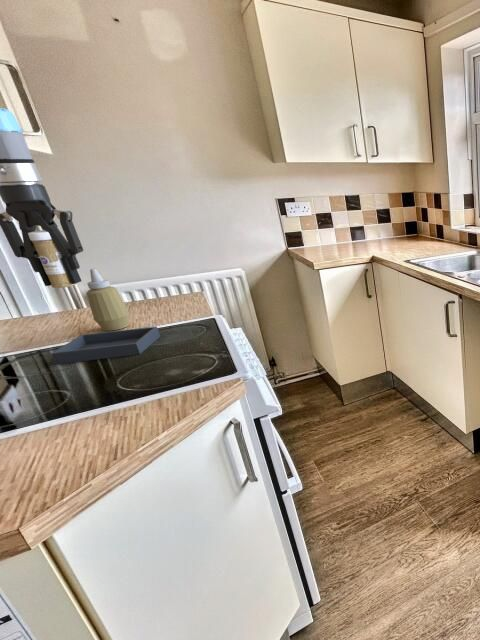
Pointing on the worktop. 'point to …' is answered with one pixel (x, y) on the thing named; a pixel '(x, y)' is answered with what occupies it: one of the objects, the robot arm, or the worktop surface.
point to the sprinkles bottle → (50, 259)
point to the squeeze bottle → (106, 304)
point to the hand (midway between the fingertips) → (63, 283)
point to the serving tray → (106, 345)
